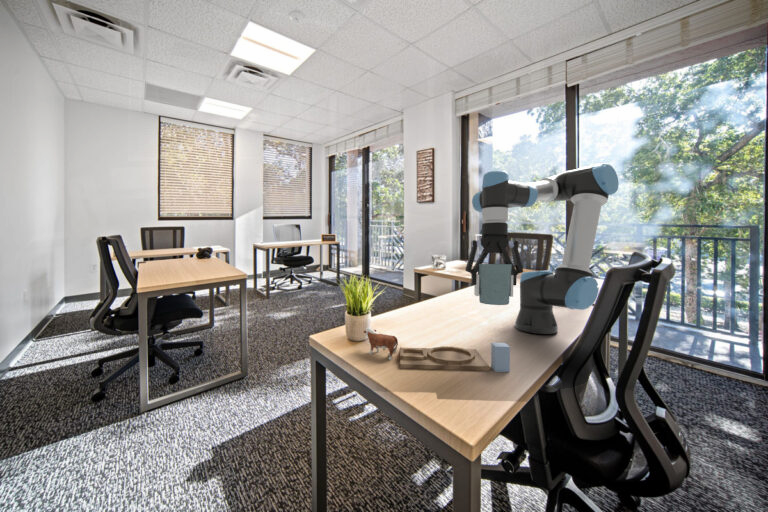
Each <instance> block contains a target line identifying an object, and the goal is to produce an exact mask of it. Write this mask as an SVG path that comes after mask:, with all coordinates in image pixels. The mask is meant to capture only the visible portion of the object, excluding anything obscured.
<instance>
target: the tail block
mask: <svg viewBox="0 0 768 512" xmlns="http://www.w3.org/2000/svg"><path fill="white" fill-rule="evenodd" d="M490 344H491V346H490V347H491V348H490V351H491V352H490V356H491V357H490V367H491V369H492V370H493V371H494V372H495V373H498V372H499V373H501V372H502V373H510V371H511V370H510V369H511V346H510V345H509V344H507V342H491V343H490Z"/></svg>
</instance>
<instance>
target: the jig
mask: <svg viewBox="0 0 768 512" xmlns="http://www.w3.org/2000/svg"><path fill="white" fill-rule="evenodd" d="M399 356H400V358H399V368H400V369H410V370H411V369H413V370H445V371H446V370H450V371H451V370H452V371H455V370H456V371H484V372H485V371H487V372H488V371H489V372H490V365H489V364H488V363H487V361H486V360H485V359H484V358H483V357H482V355H481V354H480V353H479V351H478V350H477V349H475V348H463V347H457V346H445V345H444V346H443V345H442V346H436V347H429V348H428V347H400V348H399Z"/></svg>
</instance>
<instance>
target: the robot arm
mask: <svg viewBox="0 0 768 512" xmlns="http://www.w3.org/2000/svg"><path fill="white" fill-rule="evenodd" d="M509 179H510V177H509V173H508V172H507V171H505V170H491V171H487V172H486V173H484V174H483V176H482V185H481V191H478V192H476V193H475V194H474V195H473V197H472V199H471V203H472V208H473V209H474V210H475V211H476V212H478V213H481V222H482V224H481V238H480V239H479V240H475V239H474V240H471V241H470V246H471V247H470V251H469V256H468V259H467V262H466V266H465V272H468V273H470V275H471V278H470V279H471V285H473V286H474V288H473V289H474V291H473V293H474V296H475V297H479V274H478V270H479V264H484V261H485V260H486V257H487V256H488V255H489V254H499V256H500V257H501V258H502V260H503V262H504V264H512V267H511V278H510V292H509V298H510V297H514V286H517V278H518V277H517V276H518V275H519V274H521V275H520V278H519V279H520V280H519V304H520V305H519V311H518V313H517V317H516V319H515V323H514V324H515V325H514V328H516V330H518V331H521V332H525V333H532V334H540V335H543V334H544V335H550V334H556V333H558V331H559V329H558V328H559V327H558V323H557V320H556V318H555V313H554V310H553V308H554V307H559V308H565V309H568V310H569V309H570V310H580V311H581V310H583V311H584V310H587V309H589V308H590V307H591V306H593V305H594V303H595V302H596V300H597V298H598V295H599V287H598V286H599V284H598V281H597V280H596V279H595V278H594V273H593V272H592V270H591V269H590V265H591V260H592V255H593V251H594V246H595V240H596V235H597V230H598V225H599V220H600V216H601V210H602V207H603V206H604V205H606V204H607V203H608V200H609V196H612V195H614V194H615V193H616V192H618V190H619V185H620V182H619V177H618V174H617V172H616V169H615V168H614V167H613V166H612V165H611V164H609V163H606V162H602V163H594V164H592V165H589V166H584V167H581V168H577V169H571V170H566V171H564V172H561V173H559V174H556V175H552V176H549V177H544V178H542V179H541V180H539V181H535V182H519V181H514V180H513V181H512V180H509ZM566 201H570V202H571V203H573V208H572V214H571V218H570V224H569V228H568V233H567V237H566V241H565V246H564V253H563V257H562V261H561V264H560V265H558V266H556V268H555V273H554V271H553V270H551V269H550V270H536V271H535V270H534V271H532V270H531V271H526V272H525V271H524V269H523V264H522V259H521V257H520V253H519V241H518V240H509V237H508V233H509V232H508V231H509V229H508V228H509V227H508V226H509V225H508V223H506V222H508V221H509V208H510V209H511V208H518V207H519V208H530V207H532V206H533V205H534V204H536V203H538V202H543V203H549V202H566ZM480 245H481V246H482V251H481V253H480V255H479V257H478V258H477V261H476V262H475V263H474V261H475V258H476V254H477V251H478V248H479V247H480ZM508 246H509V248H510V251H511V252H510V253H511V256H512V259H513V262H512V260H511V258H510V256H509V254H508V250H507V249H506V247H508ZM513 263H514V264H513ZM473 264H474V265H473Z"/></svg>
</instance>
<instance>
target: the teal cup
mask: <svg viewBox="0 0 768 512" xmlns="http://www.w3.org/2000/svg"><path fill="white" fill-rule="evenodd" d="M512 264H513V263H512ZM512 264H505V263H482V264H479V270H478V272H477V274H479V296H478V299H479V300H478V301H479V303H480V304H482V305H489V306H491V305H492V306H506V305H507V306H508V305H509V303H510V296H509V292H510V278H511V267H512Z"/></svg>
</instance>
